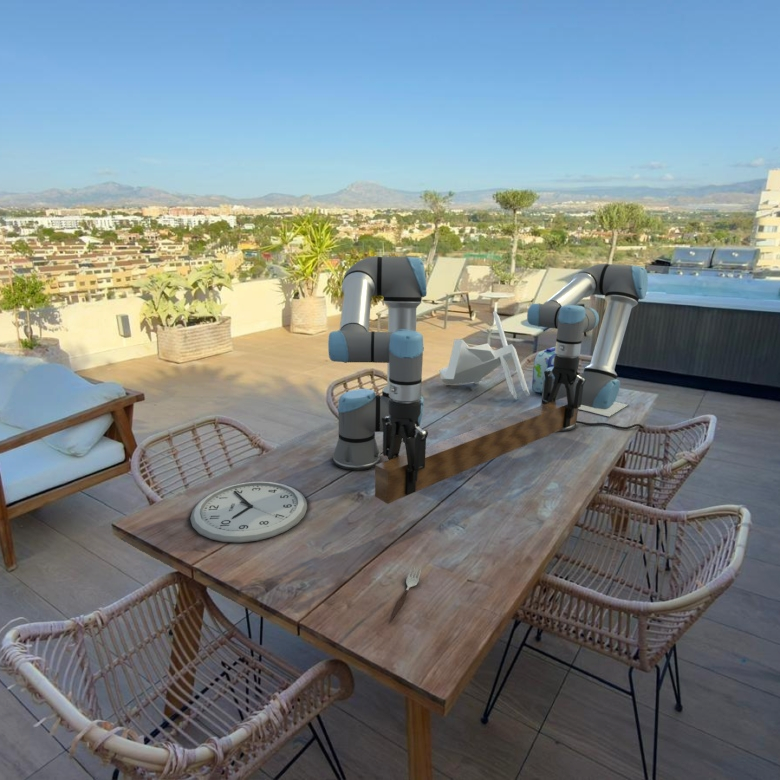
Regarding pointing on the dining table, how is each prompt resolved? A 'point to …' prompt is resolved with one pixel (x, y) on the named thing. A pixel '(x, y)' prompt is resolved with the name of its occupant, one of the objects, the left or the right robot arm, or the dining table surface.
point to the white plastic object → (482, 362)
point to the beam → (471, 449)
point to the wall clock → (248, 512)
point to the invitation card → (605, 412)
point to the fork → (410, 583)
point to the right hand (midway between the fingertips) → (558, 424)
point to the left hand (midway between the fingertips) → (402, 488)
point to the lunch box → (542, 367)
